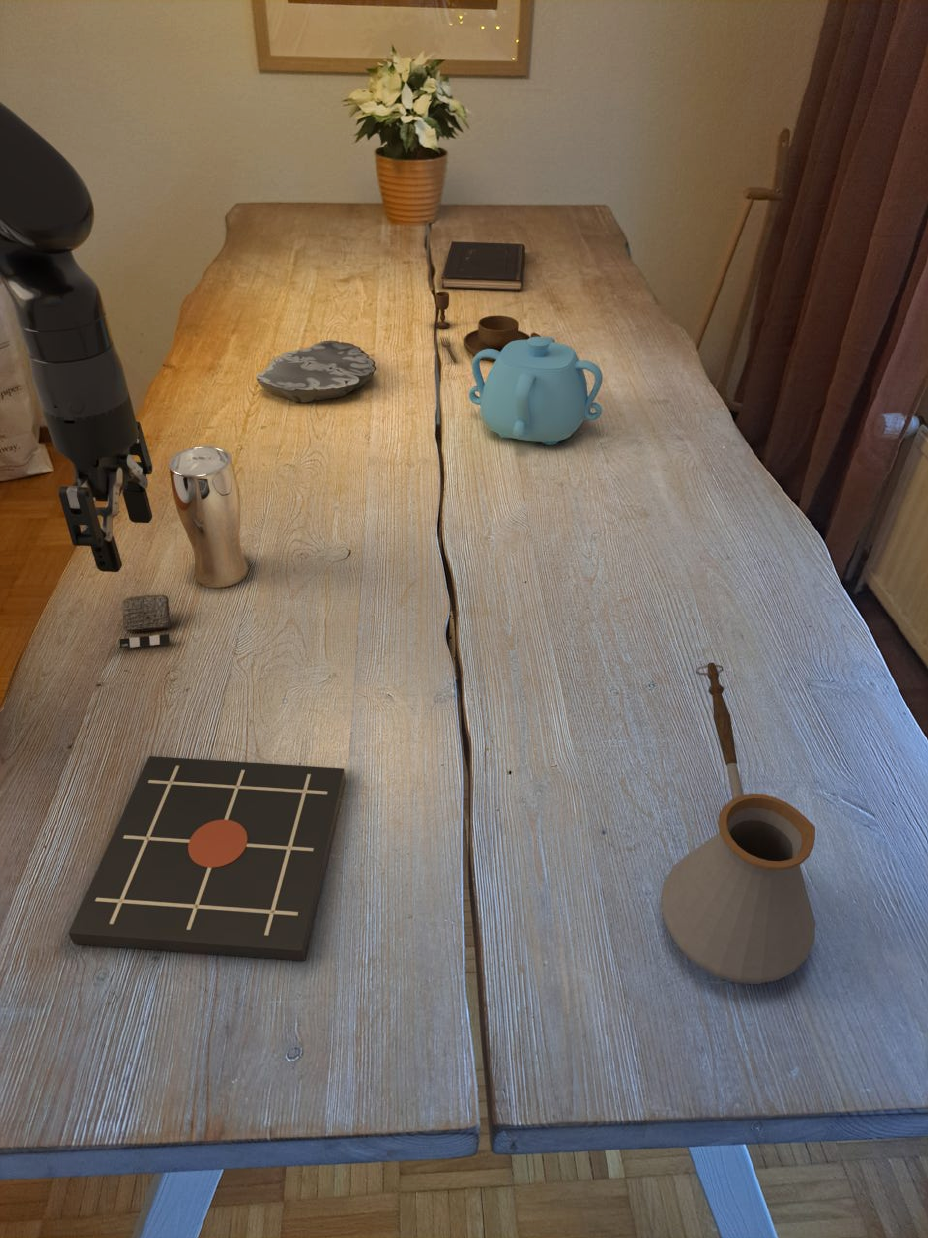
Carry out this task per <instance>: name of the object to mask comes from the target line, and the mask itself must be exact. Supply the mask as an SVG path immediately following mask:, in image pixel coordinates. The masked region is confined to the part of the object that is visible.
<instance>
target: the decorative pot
mask: <svg viewBox="0 0 928 1238" xmlns="http://www.w3.org/2000/svg"><path fill="white" fill-rule="evenodd" d="M530 337H531V336H530ZM485 357H489V358H493V359H496V361H493V362H494V363H493V365H492V366H491V368H490V370H489V372H488V373H487V376H486V379H485V380H484V377H483V374H482V371H481V363H480V362H481V360H483V359H482V358H485ZM584 370H585V371H586V370H587V371H588V372H590V373H592V374H593V376H594V383H593V386H592V389H591V390H590V392H589V394H588V384H587V380H586V379H587V378H586V374H585V372H584ZM471 371H472V375H473V378H474V382H475V385H474V386H472V387H471V388H470V389H469V392H468V399H469V400H470V403H472V404H475V406H480V407H479V409H480V410H479V412H480V415H481V418H482V420H483V422H484V424H485V425H486V426H487V427H488V429H489V430H491V431H492V432H493V433H495V434H497V435H498V437H499V438H502V439H508V440H509V439H515V440H518V441H519V440H520V441H525V442H526V441H527V442H536V443H537V442H539V443H542V444H544V445H549V446H550V445H551V446H552V445H556V444H558V443H559V441H560V442H561V441H563V440H567V439H569V438H570V437H571V436H572V435H573V434H574V433H575V432H576V431H577V430H578V429H579V427H580V426H581V425H582V423H583V422H584V420H587V421H596V420H598V419H600V417H601V416H602V414H603V409H602V406H601V405H600V403H598V402H594V401H595V400H596V398H597V396H598V395H599V392H600V390H601V387H602V384H603V380H604V378H603V373H602V369H601V368H600V367H599V366H598V365H597V364H595V363H594V362H593V361H590V360H583V359H582V360H580V358H579V356H578V354H577V352H576V350H575V349H574V348H572V347H571V346H569V345H566V344H563V343H559V342H555V339H554V337H550V336H541V337H531V338H529V339H527V340H516V341H512V342H510V343H508V344H507V345H506V346H505V347H504V348H503V349H502V351H501V352H499V351H497V350H494V349H485V350H482V351H480V352H479V353H477V354H476V355H475V356H473V358H472V362H471ZM476 392H478V394H479V396H478V395H477V394H476ZM591 409H594V410H595V412H592V411H591Z"/></svg>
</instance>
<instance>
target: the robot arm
mask: <svg viewBox="0 0 928 1238" xmlns="http://www.w3.org/2000/svg"><path fill="white" fill-rule="evenodd" d="M94 207H95V206H94V203H93V198H92V196H91V193H90V190H89V188H88V186H87V185H86V182H85V181H84V179H83V178H82V176H81V175H80V173H79V172H78V171H77V169H76V168H75V167H74V166H73V164H72V163H71V162H69V160H67V158H66V157H65V156H64V155H63V154H62V153H61V152H60V151H59V150H58V149H57V148H56V147H54V146H53V145H52V144H51V143H50V142H49V141H48V140H47V139H45V138H44V137H43V136H42V135H41V134H40V133H38V132H37V131H36V130H35V129H34V128H33V127H31V126H30V125H29V124H28V123H27V122H26V121H24V120H23V118H21V117H20V116H18V115H17V113H15V112H14V111H13V110H12V109H10V108H9V107H8V106H7V105H5V104H4V103H2V102H1V101H0V281H1V283H2V284H3V286H4V288H5V290H6V292H7V295H8V296H9V297H10V300H11V302H12V305H13V306H12V307H13V309H14V313H15V318H16V321H17V324H18V327H19V330H20V333H21V337H22V340H23V343H24V346H25V349H26V352H27V357H28V360H29V367H30V373H31V378H32V382H33V385H34V389H35V391H36V394H37V398H38V401H39V404H40V407H41V410H42V414H43V416H44V417H43V418H44V420H45V422H46V426H47V429H48V432H49V435H50V439H51V443H52V445H53V447H54V450H55V451H56V452H57V453H58V454H60V455H61V456H63V457H65V458H66V459H68V461H70V462H71V463H72V464H73V471H74V482H73V483H72V485H67V486H66V485H61V486H60V487H59V489H58V498H59V502H60V505H61V509H62V512H63V515H64V519H65V523H66V526H67V529H68V533H69V536H70V540H71V543H72V546H74V547H90V549H91V554H92V556H93V559H94V563H95V567H96V568H97V569H98V571H100V572H104V573H105V572H107V573H118V572H119V571H120V570H121V568H122V566H123V564H122V563H123V562H122V560H121V559H122V558H121V555H120V552H119V550H118V546H117V542H116V539H115V536H113V535H114V533H113V532H114V519H115V517H118V515H119V514H120V513H119V511H120V496H121V494H122V497H123V500H124V504H125V508H126V511H127V515H128V519H129V521H130V522H132V523H134V524H149V523H150V522H151V520H152V519H153V512H152V509H151V506H150V502H149V497H148V493H147V489H148V484H149V481H148V477H147V475H152V473H153V463H152V460H151V456H150V453H149V449H148V445H147V442H146V438H145V435H144V432H143V428H142V424H141V422H140V421H137V419H136V415H135V411H134V406H133V402H132V398H131V394H130V391H129V387H128V383H127V379H126V375H125V371H124V367H123V364H122V361H121V358H120V356H119V353H118V351H117V349H116V348H117V347H116V346H115V343H114V340H113V335H112V330H111V327H110V323H109V318H108V315H107V311H106V306H105V303H104V299H103V297H102V294H101V291H100V289H99V287H98V285H97V283H96V281H95V280H94V279H93V278H92V276H90V275H89V274H88V273H87V272H86V271H85V270H83V268H82V267H81V266H80V265H79V263H78V262H77V260H76V258H75V256H74V254H73V251H74V250H77V249H78V248H79V247H81V246H82V245H83V244H84V243H85V242H86V241H87V240H88V238H89V237H90V235H91V233H92V230H93V227H94V224H95V223H94V222H95V208H94ZM134 456H137V457H139V460H140V461H135V457H134ZM95 502H105V503H107V504H106V506H104V507H103V506H96V503H95ZM99 517H102V521H101V523H102V524H100V519H99ZM101 525H102V526H101Z"/></svg>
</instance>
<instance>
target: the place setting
mask: <svg viewBox="0 0 928 1238" xmlns="http://www.w3.org/2000/svg"><path fill="white" fill-rule="evenodd" d="M449 305H450V293H449V292H448V291H437V292H436V293H435V306H436V308H437V309H438V310H439V320H440V321H438V322H436V323H434V327H435V328H436V329H439V330H446V329H449V328H450V327H451V324H450V323H449V322H446V321H445V320H446V315H445V312H446V310H447V309H448V308H449ZM477 323H478V324H477V329H474V330H473V331H470V332H468V333H466V334H465V336H464V337H463V346H464V349H465V350H466V351H467V352H468V353H469V354H470V355H472V356H473V357H475V355H476V354H477V353H479V352H480V351H482V350H485V349H494V350H497V351H499V352H501V351H502V349H503V348H504V347H505V346H506V345H507V344H508V343H510V342H512V341H516V340H527V339H529V338H531V337H542V336H541V334H539V333H536V332H531V334H530V335H529V334H528V333H526V332H523V331H521V330H519V326H520V325H519V320H517V319H515V318H514V317H511V316H507V315H489V316H485V317H482V318H480V319H479V320H478V322H477ZM439 339H440V342H441V346H443V348H446V349H447V351H448V353H449V355H450V357H451V359H452V360H453V362H454V363H457V358H456V357H455V355H454V353H453V351H452V349H451V347H450V346H451V343H450V341H449V338H448V336H442V337H441V336H439ZM481 360H484V361H488V362H495V361H496V359H493V358H489V357H485V358H482V359H481Z"/></svg>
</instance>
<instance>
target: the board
mask: <svg viewBox="0 0 928 1238" xmlns="http://www.w3.org/2000/svg"><path fill="white" fill-rule="evenodd" d="M345 784H346V770H345V768H343V767H327V766H315V765H314V766H311V765H298V764H297V765H295V764H281V763H279V764H278V763H264V762H251V761H250V762H249V761H233V760H218V759H201V758H186V757H169V756H156V755H155V756H154V755H148V758H147V759H146V762H145V764H144V766H143V769H142V771H141V773H140V775H139V777H138V779H137V781H136V784H135V785H134V788H133V790H132V793H131V795H130V796H129V799H128V801H127V804H126V805H125V808H124V810H123V812H122V814H121V817H120V819H119V821H118V823H117V825H116V827H115V830H114V832H113V834H112V836H111V839H110V841H109V843H108V845H107V847H106V849H105V851H104V854H103V856H102V858H101V860H100V862H99V864H98V867H97V869H96V871H95V874H94V876H93V877H92V881H91V883H90V885H89V887H88V889H87V891H86V893H85V895H84V897H83V900H82V902H81V904H80V907H79V909H78V910H77V912H76V915H75V917H74V919H73V922H72V924H71V926H70V929H69V931H68V932H67V933H68V936H69V938H70V940H71V942H72V944H73V945H86V946H100V947H114V948H126V949H138V950H139V949H141V950H154V951H165V952H181V953H192V954H193V953H194V954H207V955H221V956H234V957H247V958H260V959H261V958H262V959H272V960H273V959H275V960H287V961H299V962H300V961H301V962H304V961H305V960H306V955H307V951H308V946H309V941H310V937H311V934H312V929H313V925H314V920H315V916H316V912H317V906H318V903H319V898H320V895H321V894H320V893H321V889H322V884H323V881H324V876H325V872H326V868H327V863H328V859H329V854H330V850H331V845H332V840H333V836H334V833H335V828H336V824H337V819H338V814H339V810H340V806H341V801H342V796H343V792H344V787H345Z"/></svg>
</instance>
